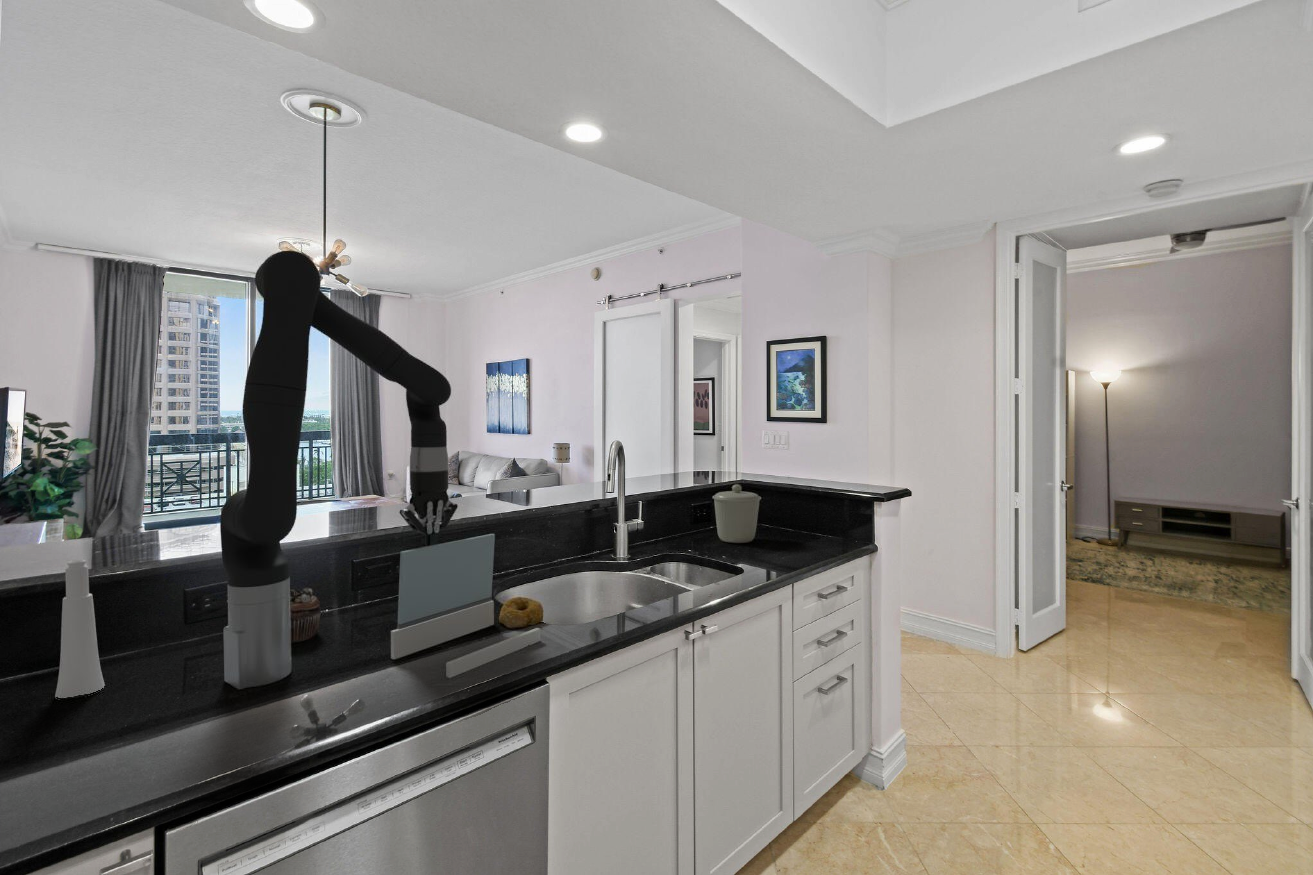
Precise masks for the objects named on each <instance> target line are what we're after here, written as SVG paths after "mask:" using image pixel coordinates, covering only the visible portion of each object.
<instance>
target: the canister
mask: <svg viewBox="0 0 1313 875" xmlns="http://www.w3.org/2000/svg"><path fill="white" fill-rule="evenodd" d="M731 489H732V490H730V491H729V490H726V491H719V492H717V493H715V494H714V495H712V499H713V500H714V511H715V512H714V513H715V522H716V530H717V535H718V538H719V539H720V540H721V541H722V542H725V543H730V544H745V543H746V544H747V543H750V542H752V541H753V540H754V538H755V537H756V532H757V525H758V524H757V523H758V517H759V515H758V514H759V509H760V508H759V507H760V501H761V499H762V497H761V496H759V494H757V493H754V492H751V491H750V492H749V491H742V489H743V488H742V486H741V484H734V485H732V486H731Z"/></svg>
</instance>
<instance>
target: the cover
mask: <svg viewBox="0 0 1313 875" xmlns="http://www.w3.org/2000/svg"><path fill="white" fill-rule="evenodd" d="M495 537H496V534H495V533H489V534H484V535H480V536H473V537H468V538H464V539H458V540H453V541H449V542H444V543H443V542H442V543H438V544H437V545H432V546H427V547H422V546H421V547H417V548H412V549H408V550H407V549H406V550H403V551H400V553H399V554H400V555H399V556H400V558H399V560H400V561H399V581H398V602H397V603H398V604H397V625H396V629H402V628H406V627H409V626H412V625H415V624H419V623H422V622H425V621H428V620H432V619H435V618H438V617H441V616H444V615H448V614H451V613H454V612H457V611H461V610H464V609H467V608H470V607H474V606H477V605H480V604H483V603H486V602H490V601H491V600H492V601H493V599H492V597H493V596H492V592H493V579H494V578H493V576H494V558H495V540H496V538H495Z"/></svg>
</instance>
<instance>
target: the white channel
mask: <svg viewBox="0 0 1313 875" xmlns="http://www.w3.org/2000/svg"><path fill="white" fill-rule="evenodd" d="M494 605H495V602H494V600H493V599H492V600H491V601H490V602H486V603H483V604H480V605H477V606H474V607H470V608H467V609H464V610H461V611H457V612H454V613H451V614H448V615H444V616H441V617H438V618H435V619H432V620H428V621H425V622H422V623H419V624H415V625H412V626H409V627H406V628H402V629H398V628H396V629H393V630H390V659H392V660H397V659H400V658H402V657H406V656H408V655H411V654H414V653H417V652H419V651H422V650H425V649H426V650H427V649H428V648H431V647H433V646H437V645H439V644H442V643H443V644H444V643H445V642H448V641H451V640H455V639H457V638H460V637H462V636H465V635H468V634H472V633H474V632H477V631H480V630H482V629H485V628H488V627H491V626H493V625H494V624H495V611H494V610H495V606H494ZM540 641H541V628H538V627H535V628H533V629H530V630H528V631H525V632H523V633H520V634H518V635H514V636H512V637H510V638H507V639H504V640H502V641H500V642H496V643H494V644H492V645H489V646H487V647H484V648H482V649H481V648H480V649H479V650H476V651H473V652H470V653H467V654H465V655H463V656H461V657H457V658H456V659H452V660H450V661H447V662H446V663H445V667H446V668H445V669H446V670H445V672H446V673H445V675H446V676H445V677H446V678H449V679H451V678H453V677H456V676H458V675H460V674H463V673H465V672H468V671H470V670H473V669H475V668H478V667H480V666H483V665H485V664H488V663H491V662H493V661H495V660H497V659H500V658H502V657H504V656H507V655H509V654H511V653H512V654H513V653H515V652H517V651H519V650H521V649H524V648H525V647H526V648H527V647H529V646H531V645H534V644H536V643H538V642H540ZM528 645H529V646H528Z"/></svg>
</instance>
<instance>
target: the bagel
mask: <svg viewBox="0 0 1313 875" xmlns="http://www.w3.org/2000/svg"><path fill="white" fill-rule="evenodd" d="M498 620H499V623H501V624H503V626H505V627H506V628H508V629H515V628H517V629H519V628H525V627H527V626H534V625H537V624H539V622H540V623H542V622H543V621H544V607H543V605H542V603H541V602H539V601H537V600H535V599H532V598H527V597H525V596H523V597H521V596H516V597H512V598H510V599H508V600H506V601H505V602H504V604H503V605H502V607H501V609H500V613H499V617H498Z"/></svg>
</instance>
